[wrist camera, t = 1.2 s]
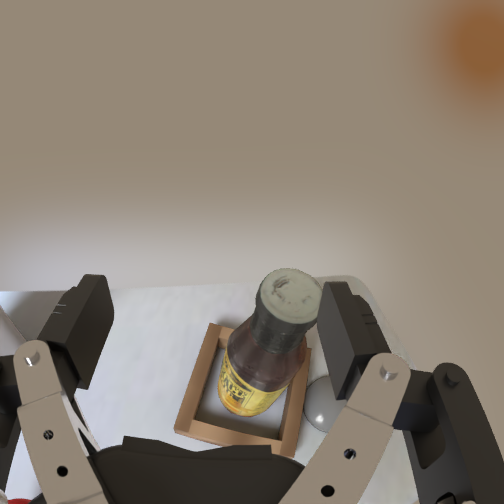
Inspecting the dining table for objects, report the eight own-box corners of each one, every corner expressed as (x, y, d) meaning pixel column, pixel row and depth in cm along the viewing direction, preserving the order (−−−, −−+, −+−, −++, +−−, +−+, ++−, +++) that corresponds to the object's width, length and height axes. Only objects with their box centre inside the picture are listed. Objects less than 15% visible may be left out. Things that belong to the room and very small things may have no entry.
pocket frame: (175, 432, 29) (173, 427, 27) (208, 333, 38) (209, 322, 36) (287, 460, 28) (294, 457, 26) (305, 357, 37) (311, 348, 36)
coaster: (298, 427, 31) (299, 426, 30) (307, 373, 36) (308, 371, 35) (356, 436, 31) (358, 435, 30) (360, 383, 36) (362, 381, 35)
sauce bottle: (211, 372, 34) (227, 249, 20) (265, 365, 36) (317, 243, 22) (223, 427, 30) (251, 342, 16) (279, 416, 32) (356, 324, 18)
